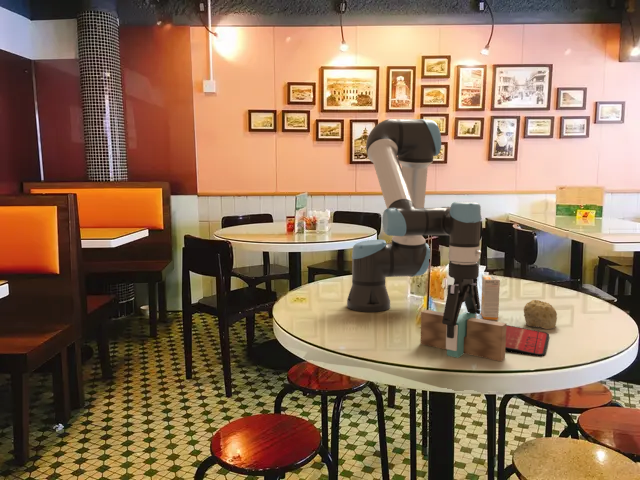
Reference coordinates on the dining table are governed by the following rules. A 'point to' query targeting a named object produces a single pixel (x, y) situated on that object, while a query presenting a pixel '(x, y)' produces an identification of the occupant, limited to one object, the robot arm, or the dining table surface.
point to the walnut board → (480, 336)
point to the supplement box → (490, 297)
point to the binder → (526, 341)
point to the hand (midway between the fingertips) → (461, 343)
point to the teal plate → (461, 334)
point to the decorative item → (540, 314)
